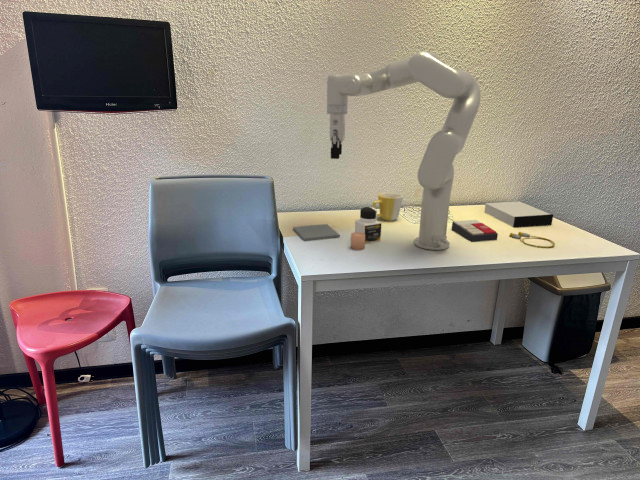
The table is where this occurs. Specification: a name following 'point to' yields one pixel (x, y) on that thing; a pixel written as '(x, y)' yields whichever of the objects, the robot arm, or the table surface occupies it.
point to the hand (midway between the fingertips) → (336, 156)
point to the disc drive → (518, 214)
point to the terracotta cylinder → (357, 241)
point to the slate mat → (316, 232)
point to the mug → (389, 205)
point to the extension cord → (516, 236)
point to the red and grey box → (474, 230)
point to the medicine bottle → (369, 224)
